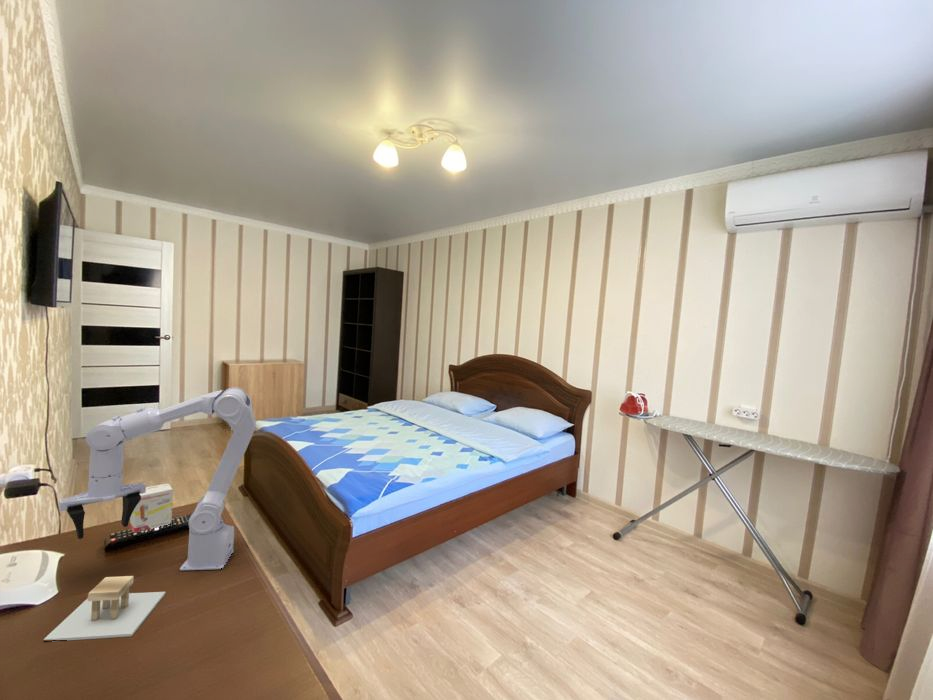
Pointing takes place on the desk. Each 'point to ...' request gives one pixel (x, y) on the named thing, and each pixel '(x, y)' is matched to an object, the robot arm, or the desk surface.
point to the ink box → (153, 508)
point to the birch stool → (110, 595)
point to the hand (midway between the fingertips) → (103, 530)
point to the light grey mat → (107, 619)
